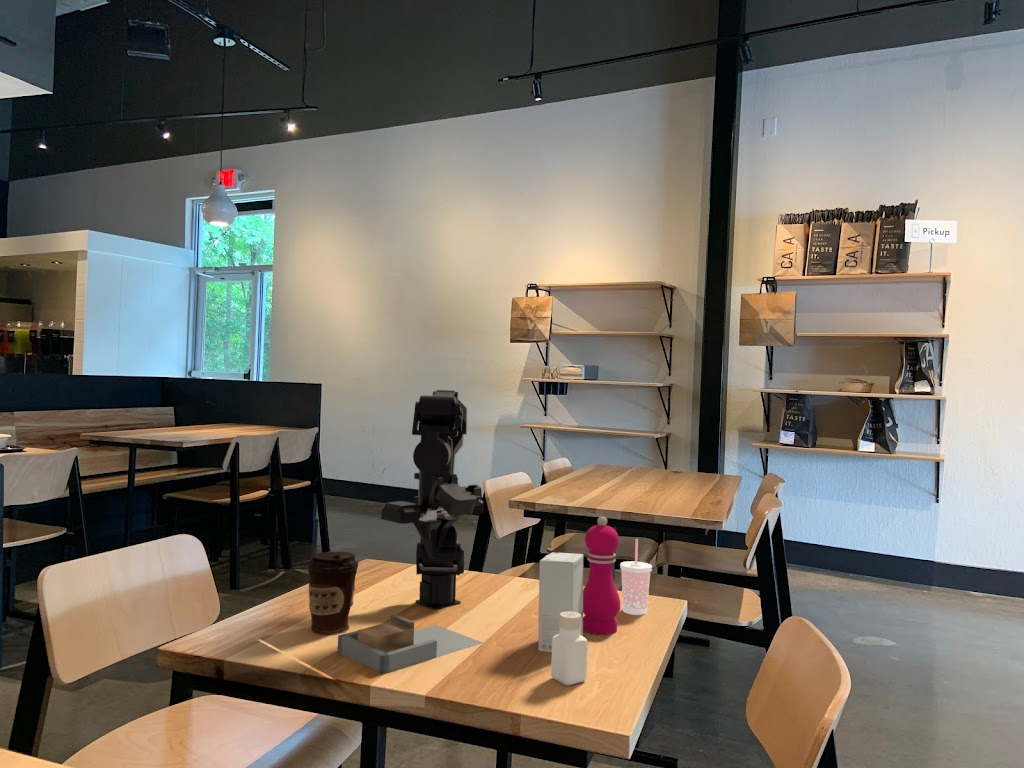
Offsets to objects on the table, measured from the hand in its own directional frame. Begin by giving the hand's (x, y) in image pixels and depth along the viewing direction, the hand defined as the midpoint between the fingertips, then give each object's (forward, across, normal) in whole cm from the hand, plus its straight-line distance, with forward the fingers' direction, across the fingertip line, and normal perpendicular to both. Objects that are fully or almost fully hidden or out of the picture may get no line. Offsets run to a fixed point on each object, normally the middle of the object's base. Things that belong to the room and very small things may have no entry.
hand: (433, 558), depth 126 cm
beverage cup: (+13, +37, -17) cm, 43 cm away
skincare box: (+13, +11, -20) cm, 26 cm away
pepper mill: (+13, +23, -19) cm, 32 cm away
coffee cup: (+13, -13, +11) cm, 21 cm away
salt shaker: (+13, +1, -30) cm, 33 cm away
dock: (+12, -8, -5) cm, 16 cm away
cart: (+12, -13, -5) cm, 19 cm away
